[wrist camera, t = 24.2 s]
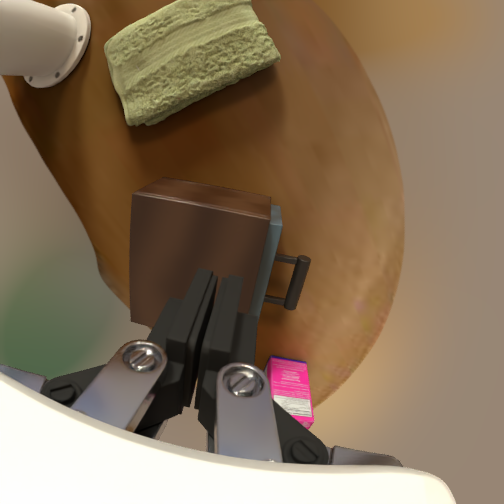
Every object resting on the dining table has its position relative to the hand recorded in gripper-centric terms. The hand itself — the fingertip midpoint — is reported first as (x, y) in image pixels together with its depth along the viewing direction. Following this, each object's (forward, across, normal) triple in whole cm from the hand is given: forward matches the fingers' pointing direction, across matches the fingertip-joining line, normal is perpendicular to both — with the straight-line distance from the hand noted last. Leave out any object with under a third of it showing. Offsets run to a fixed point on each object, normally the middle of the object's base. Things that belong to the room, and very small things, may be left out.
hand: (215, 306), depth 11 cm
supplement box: (+23, -10, +26) cm, 36 cm away
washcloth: (+23, +10, -14) cm, 29 cm away
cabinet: (+23, +4, +8) cm, 25 cm away
